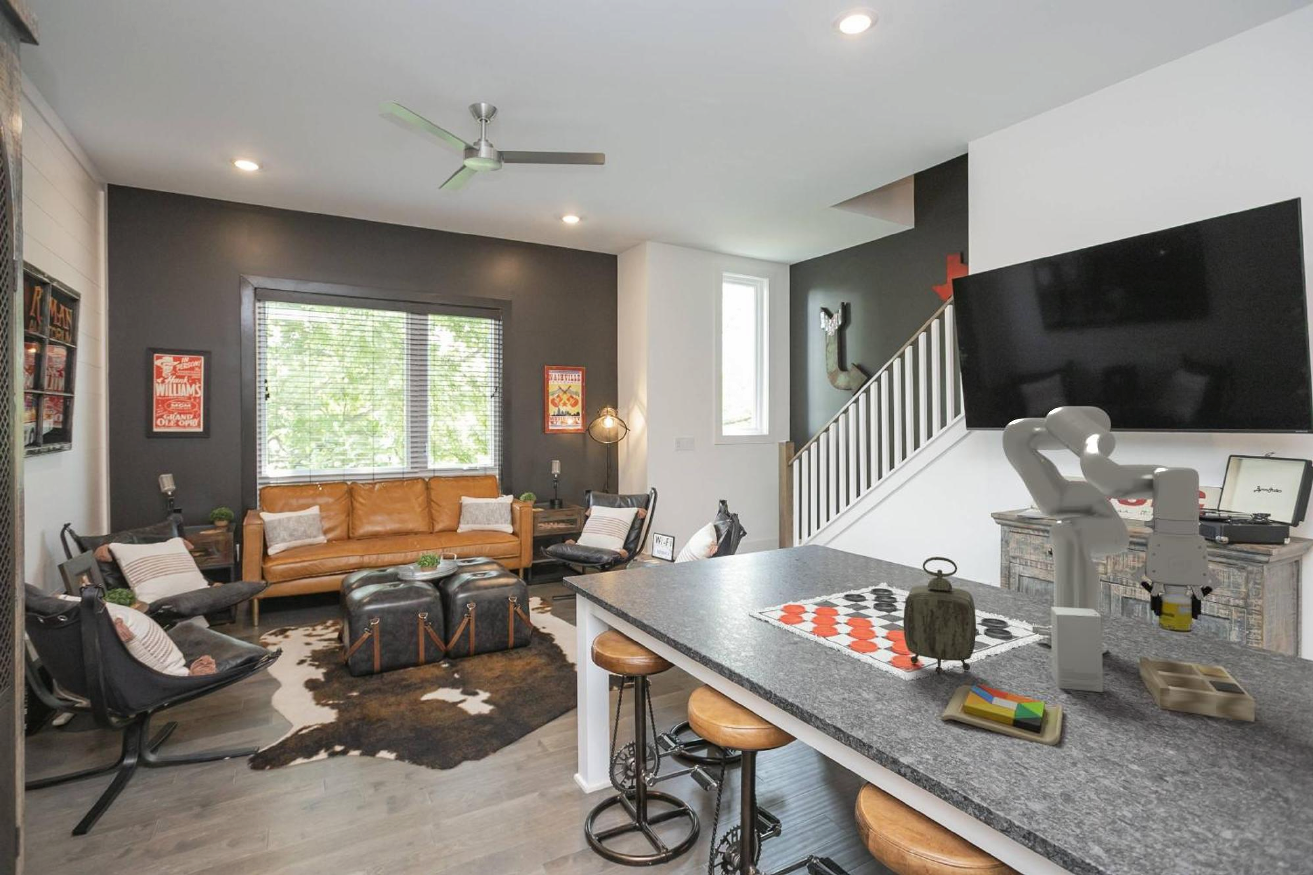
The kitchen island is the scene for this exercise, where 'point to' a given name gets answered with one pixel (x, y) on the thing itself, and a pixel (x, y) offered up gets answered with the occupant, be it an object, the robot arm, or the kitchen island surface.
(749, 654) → the kitchen island surface
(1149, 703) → the kitchen island surface
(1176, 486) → the robot arm
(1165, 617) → the supplement bottle
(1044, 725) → the wooden puzzle
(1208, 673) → the socket block
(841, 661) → the kitchen island surface
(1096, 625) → the skincare box
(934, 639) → the tabletop clock
